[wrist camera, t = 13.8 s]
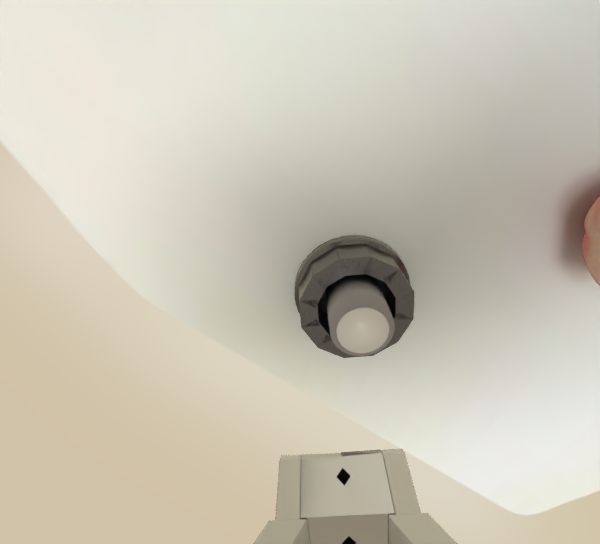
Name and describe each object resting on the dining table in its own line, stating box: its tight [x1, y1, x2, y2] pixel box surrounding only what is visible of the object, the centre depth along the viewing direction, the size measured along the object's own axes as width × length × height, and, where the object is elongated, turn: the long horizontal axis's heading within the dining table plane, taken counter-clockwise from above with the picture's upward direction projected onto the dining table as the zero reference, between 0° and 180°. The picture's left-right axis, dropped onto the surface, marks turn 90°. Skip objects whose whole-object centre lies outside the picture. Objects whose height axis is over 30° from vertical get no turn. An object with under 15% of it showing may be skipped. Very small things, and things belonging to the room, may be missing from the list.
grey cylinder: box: [325, 274, 395, 356], centre depth 34 cm, size 5×5×6 cm
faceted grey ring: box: [295, 236, 414, 358], centre depth 36 cm, size 10×10×4 cm
